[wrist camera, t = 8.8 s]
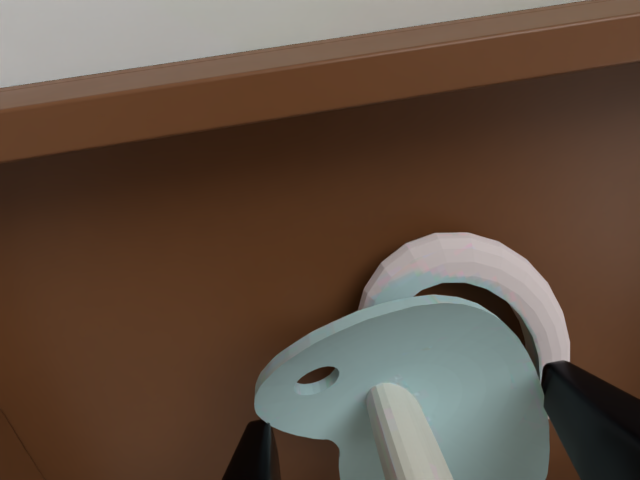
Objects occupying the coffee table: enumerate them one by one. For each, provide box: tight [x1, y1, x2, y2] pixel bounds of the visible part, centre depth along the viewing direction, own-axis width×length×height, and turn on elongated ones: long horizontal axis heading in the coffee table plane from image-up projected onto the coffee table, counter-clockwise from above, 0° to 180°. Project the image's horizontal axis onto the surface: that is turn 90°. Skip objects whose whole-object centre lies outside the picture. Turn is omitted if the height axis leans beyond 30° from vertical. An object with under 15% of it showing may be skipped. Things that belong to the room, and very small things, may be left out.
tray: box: [0, 0, 640, 480], centre depth 10 cm, size 17×13×3 cm
